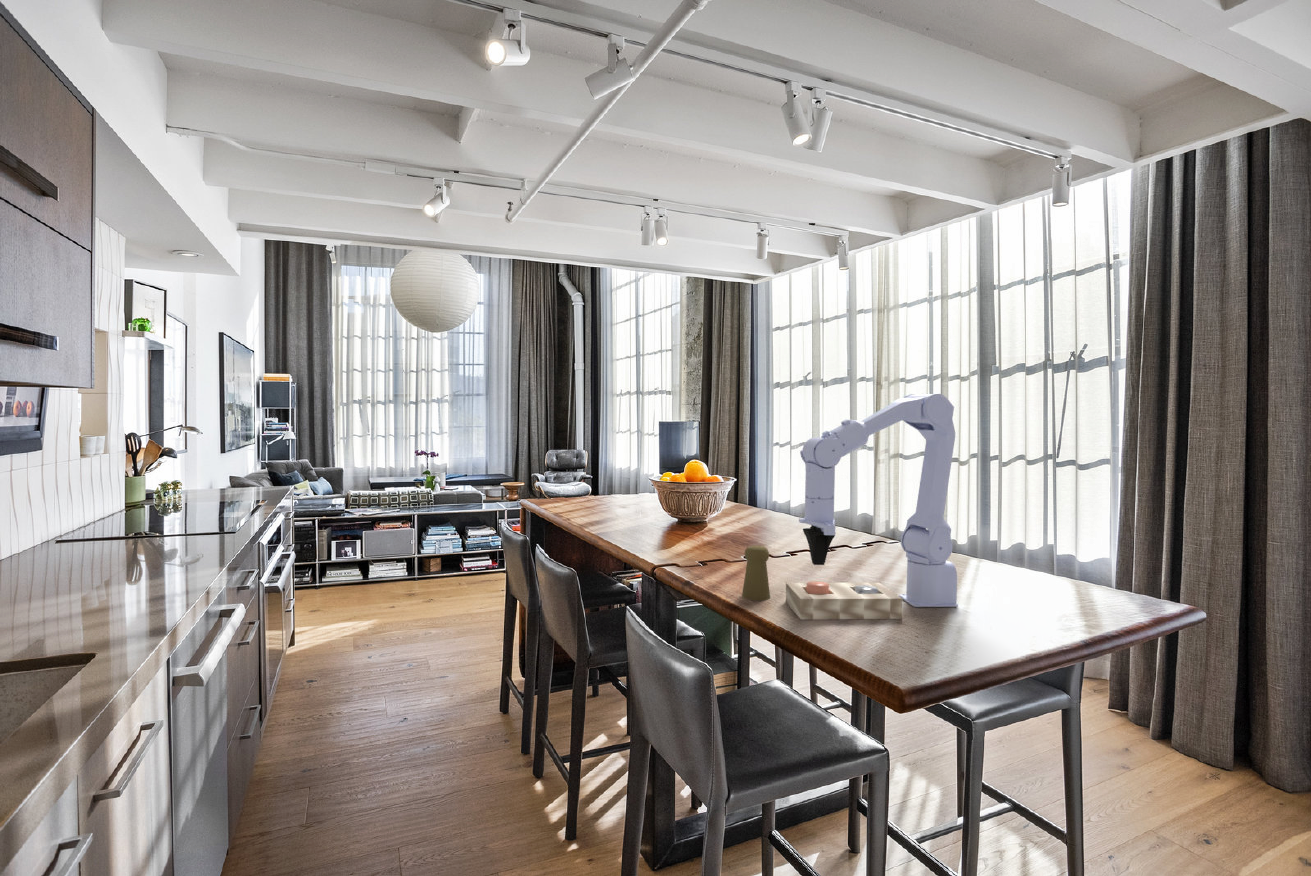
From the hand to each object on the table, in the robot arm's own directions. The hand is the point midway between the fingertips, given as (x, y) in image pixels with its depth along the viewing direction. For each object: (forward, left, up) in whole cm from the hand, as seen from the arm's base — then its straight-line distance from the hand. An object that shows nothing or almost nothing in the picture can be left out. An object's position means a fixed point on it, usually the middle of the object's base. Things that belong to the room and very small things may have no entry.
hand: (818, 564), depth 136 cm
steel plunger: (-10, 0, -9) cm, 13 cm away
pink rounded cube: (0, 0, -8) cm, 8 cm away
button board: (-5, 0, -9) cm, 11 cm away
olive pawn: (+11, -10, -10) cm, 17 cm away
